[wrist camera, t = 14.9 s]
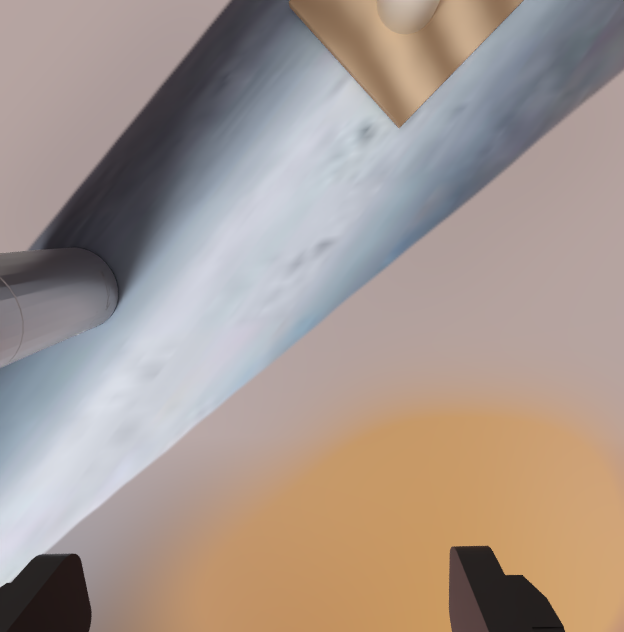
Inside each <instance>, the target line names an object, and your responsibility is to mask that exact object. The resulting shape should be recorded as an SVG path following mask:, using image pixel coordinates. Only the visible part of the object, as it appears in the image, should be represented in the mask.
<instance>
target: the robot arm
mask: <svg viewBox="0 0 624 632" xmlns="http://www.w3.org/2000/svg"><path fill="white" fill-rule="evenodd" d="M117 300H118V287H117V283H116V279H115V277H114V275H113V273H112V271H111V269H110V268H109V266H108V265H107V264H106V263H105V262H104V261H103V260H102V259H101V258H100V257H99V256H97V255H96V254H94V253H92V252H90V251H88V250H85V249H82V248H76V247H71V248H57V249H44V250H33V251H22V252H10V253H0V368H1V367H4V366H6V365H8V364H11V363H13V362H15V361H18V360H20V359H22V358H25V357H27V356H29V355H32V354H34V353H36V352H39V351H41V350H43V349H46V348H48V347H50V346H53V345H55V344H57V343H59V342H62V341H64V340H66V339H69V338H71V337H73V336H76V335H78V334H81V333H83V332H85V331H88V330H90V329H92V328H95V327H97V326H99V325H101V324H103V323H104V322H105V321H106V320H108V319H109V318H110V316H111V315H112V313H113V312H114V310H115V307H116V305H117ZM449 613H450V621H451V628H452V632H565V630H564V626H563V625H562V623H561V621H560V620H559V618H558V616H557V615H556V613H555V611H554V610H553V608H552V606H551V605H550V603H549V601H548V599H547V598H546V597H545V596H544V595H543V594H542V593H541V592H539V590H538V589H537V588H535V587H534V586H533V585H532V584H531V583H530V582H529V581H528V580H527V579H526V578H525V577H524V576H523V575H505V574H504V572H503V570H502V569H501V566H500V564H499V562H498V560H497V558H496V557H495V555H494V553H493V551H492V549H491V548H490V547H489V546H462V547H461V546H459V547H451V549H450V574H449ZM90 624H91V606H90V601H89V597H88V592H87V587H86V582H85V578H84V573H83V568H82V563H81V559H80V557H79V556H78V555H77V554H41V555H38V556H36V557H35V558H33V559H32V560H31V561H30V562H29V563H28V565H27V566H26V567H25V568H24V569H23V570H22V571H21V572H20V574H19V575H18V576H17V577H16V578H15V579H14V580H13V581H12V582H11V583H6V584H5V585H3V586H2V587H1V588H0V632H89V629H90Z"/></svg>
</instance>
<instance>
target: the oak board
mask: <svg viewBox="0 0 624 632" xmlns="http://www.w3.org/2000/svg"><path fill="white" fill-rule="evenodd" d="M522 1H523V0H440V2H439V4H438V6H437V8H436V10H435V12H434V14H433V16H432V18H431V20H430V21H429V22H428V23H427V24H426V26H424V27H423V28H422V29H420V30H419V31H417V32H415V33H411V34H398V33H395V32H393V31H391V30H389V29H388V28H387V27H386V26H385V25H384V24H383V22H382V21H381V19H380V17H379V14H378V11H377V0H290V1H289V5H290V8H291V9H292V10H293V11H294V12H295V14H296V15H297V16H298V17H299V18H300V19H301V20H302V21H303V22H304V24H305V25H306V26H307V27H308V28H309V29H310V30H311V31H312V32H313V33H314V35H315V36H316V37H317V38H318V39H319V40H320V41H321V42H322V43H323V45H324V46H325V47H326V48H327V49H328V50H329V51H330V52H331V53H332V55H333V56H334V57H335V58H336V59H337V60H338V61H339V62H340V63H341V65H342V66H343V67H344V68H345V69H346V70H347V71H348V72H349V73H350V75H351V76H352V77H353V78H354V79H355V80H356V81H357V82H358V83H359V84H360V86H361V87H362V88H363V89H364V90H365V91H366V92H367V93H368V94H369V96H370V97H371V98H372V99H373V100H374V101H375V102H376V103H377V104H378V106H379V107H380V108H381V109H382V110H383V111H384V112H385V113H386V114H387V116H388V117H389V118H390V119H391V120H392V121H393V122H394V123H395V124H396V126H397V127H398V128H400V127H401V126H402V125H403V124H404V123H405V122H406V121H407V120H408V119H409V118H410V117H411V116H412V115H413V114H414V112H415V111H416V110H417V109H418V108H419V107H420V106H421V105H422V104H423V103H424V102H425V101H426V100H427V99H428V98H429V97H430V96H431V95H432V94H433V93H434V92H435V91H436V90H437V89H438V88H439V87H440V86H441V85H442V84H443V83H444V82H445V81H446V80H447V79H448V78H449V77H450V75H451V74H452V73H453V72H454V71H455V70H456V69H457V68H458V67H459V66H460V65H461V64H462V63H463V62H464V61H465V60H466V59H467V58H468V57H469V56H470V55H471V54H472V53H473V52H474V51H475V50H476V49H477V48H478V47H479V46H480V45H481V44H482V43H483V42H484V41H485V39H486V38H487V37H488V36H489V35H490V34H491V33H492V32H493V31H494V30H495V29H496V28H497V27H498V26H499V25H500V24H501V23H502V22H503V21H504V20H505V19H506V18H507V17H508V16H509V15H510V14H511V13H512V12H513V11H514V10H515V9H516V8H517V7H518V6H519V5H520V4H521V2H522Z"/></svg>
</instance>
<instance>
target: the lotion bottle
mask: <svg viewBox="0 0 624 632" xmlns="http://www.w3.org/2000/svg"><path fill="white" fill-rule="evenodd" d="M439 2H440V0H377V11H378V14H379V17H380V19H381V21H382V22H383V24H384V25H385V26H386V27H387V28H388V29H389V30H391V31H393V32H395V33H398V34H411V33H415V32H417V31H419V30H420V29H422V28H423V27H424V26H426V24H427V23H428V22H429V21H430V20H431V18H432V16H433V14H434V12H435V10H436V8H437V6H438V4H439Z"/></svg>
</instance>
